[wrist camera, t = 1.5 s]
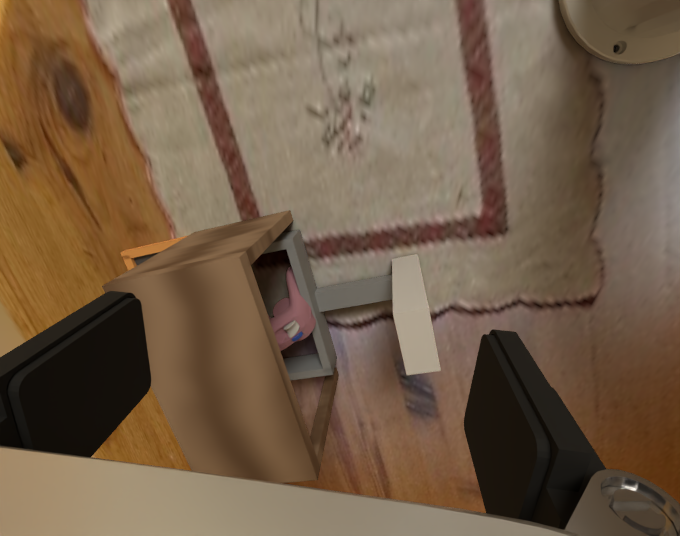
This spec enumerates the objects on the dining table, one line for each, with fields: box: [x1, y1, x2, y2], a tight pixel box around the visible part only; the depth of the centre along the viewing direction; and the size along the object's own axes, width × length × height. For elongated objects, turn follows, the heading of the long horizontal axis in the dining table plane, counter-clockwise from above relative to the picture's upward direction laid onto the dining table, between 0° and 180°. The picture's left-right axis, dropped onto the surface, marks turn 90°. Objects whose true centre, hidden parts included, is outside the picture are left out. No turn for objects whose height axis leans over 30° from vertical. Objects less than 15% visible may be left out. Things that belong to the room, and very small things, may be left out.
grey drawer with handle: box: [262, 230, 441, 380], centre depth 34 cm, size 20×14×11 cm
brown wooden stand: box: [102, 210, 338, 483], centre depth 34 cm, size 10×18×13 cm, turn 14°
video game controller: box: [268, 267, 316, 351], centre depth 37 cm, size 10×5×7 cm, turn 118°
